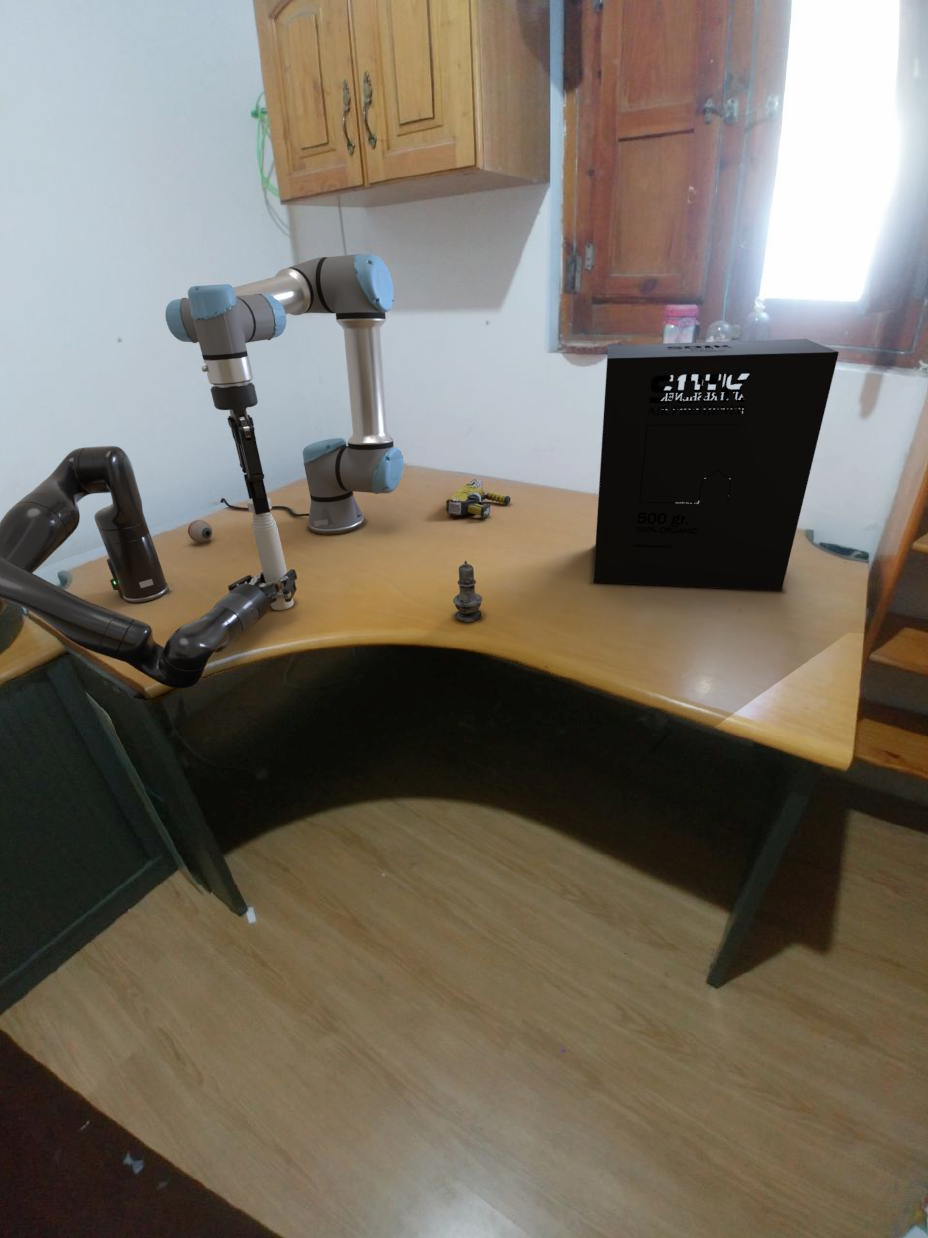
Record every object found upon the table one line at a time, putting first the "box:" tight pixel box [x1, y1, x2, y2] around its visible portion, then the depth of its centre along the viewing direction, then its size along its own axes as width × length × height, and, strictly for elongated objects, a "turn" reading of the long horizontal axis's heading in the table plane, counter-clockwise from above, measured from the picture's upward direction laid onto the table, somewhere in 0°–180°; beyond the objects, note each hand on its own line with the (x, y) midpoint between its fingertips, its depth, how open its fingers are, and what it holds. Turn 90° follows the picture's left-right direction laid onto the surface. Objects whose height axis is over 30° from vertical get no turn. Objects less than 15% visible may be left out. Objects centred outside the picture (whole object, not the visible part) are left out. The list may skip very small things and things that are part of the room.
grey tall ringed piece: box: [452, 560, 484, 623], centre depth 118 cm, size 6×6×12 cm
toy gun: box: [445, 478, 511, 520], centre depth 176 cm, size 5×24×15 cm
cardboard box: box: [593, 338, 840, 592], centre depth 124 cm, size 38×20×45 cm, turn 78°
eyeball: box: [187, 519, 213, 544], centre depth 162 cm, size 6×6×6 cm
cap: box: [246, 496, 273, 514], centre depth 118 cm, size 4×4×2 cm
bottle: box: [251, 511, 295, 611], centre depth 124 cm, size 5×5×23 cm
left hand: (282, 572), depth 129 cm, fingers closed on bottle, 4 cm apart
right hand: (260, 508), depth 119 cm, fingers closed on cap, 4 cm apart
